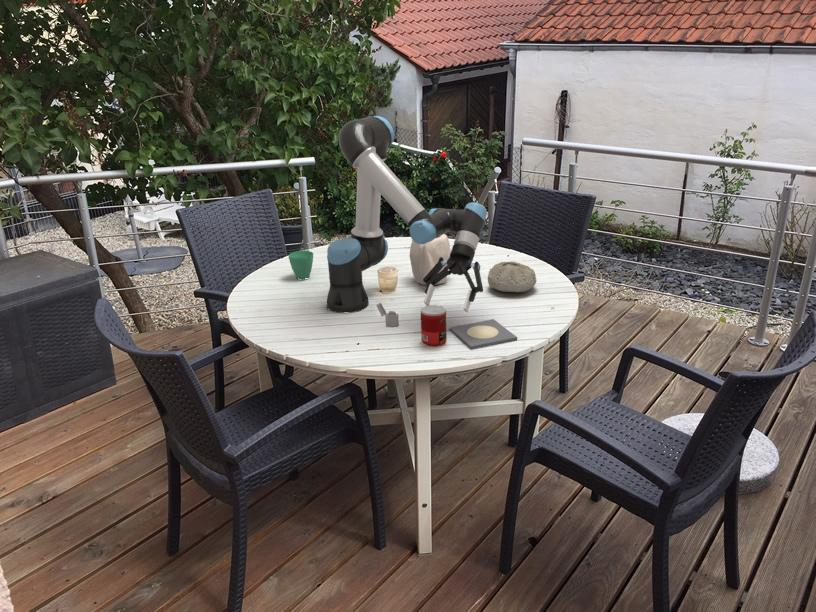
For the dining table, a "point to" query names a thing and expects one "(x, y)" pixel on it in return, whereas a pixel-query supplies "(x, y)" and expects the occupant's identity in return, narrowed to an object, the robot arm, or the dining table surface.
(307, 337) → the dining table surface
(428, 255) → the cream ceramic pot
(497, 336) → the mat
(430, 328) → the canned food
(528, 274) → the grey rounded rock
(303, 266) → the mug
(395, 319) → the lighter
